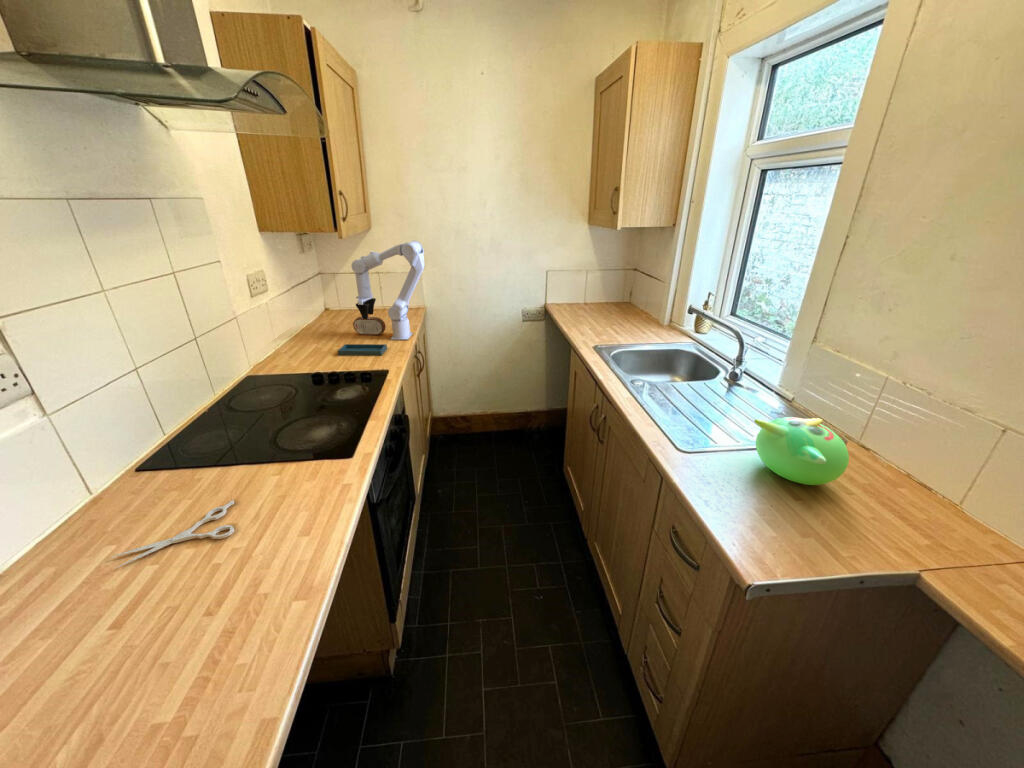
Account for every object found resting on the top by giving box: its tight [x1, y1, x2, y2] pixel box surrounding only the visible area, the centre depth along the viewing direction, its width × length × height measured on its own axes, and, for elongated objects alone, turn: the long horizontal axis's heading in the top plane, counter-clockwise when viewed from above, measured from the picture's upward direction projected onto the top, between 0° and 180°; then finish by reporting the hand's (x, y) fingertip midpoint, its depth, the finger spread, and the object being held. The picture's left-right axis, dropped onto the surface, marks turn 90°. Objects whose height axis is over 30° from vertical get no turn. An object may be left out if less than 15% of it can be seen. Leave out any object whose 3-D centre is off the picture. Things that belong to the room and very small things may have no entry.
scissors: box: [111, 499, 235, 569], centre depth 80 cm, size 11×1×20 cm
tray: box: [337, 343, 388, 357], centre depth 175 cm, size 8×18×2 cm, turn 89°
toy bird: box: [753, 416, 850, 486], centre depth 95 cm, size 18×17×15 cm
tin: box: [352, 316, 387, 336], centre depth 196 cm, size 15×3×8 cm, turn 84°
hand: (368, 316), depth 191 cm, fingers open, 7 cm apart
